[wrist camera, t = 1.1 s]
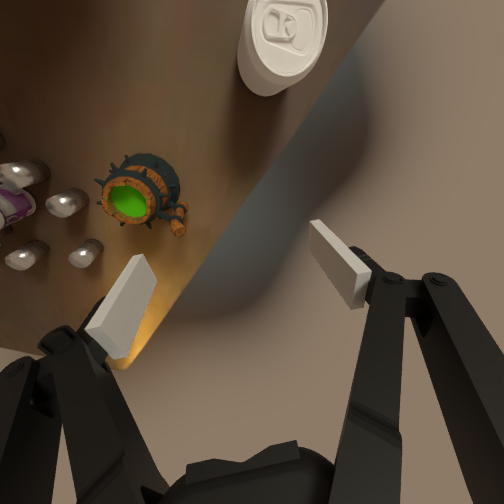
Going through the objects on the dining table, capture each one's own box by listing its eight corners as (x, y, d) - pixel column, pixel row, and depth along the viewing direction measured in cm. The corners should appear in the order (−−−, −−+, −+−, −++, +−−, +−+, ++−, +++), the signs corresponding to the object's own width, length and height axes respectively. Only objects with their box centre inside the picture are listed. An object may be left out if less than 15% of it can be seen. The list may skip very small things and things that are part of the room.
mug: (110, 192, 35) (67, 218, 25) (130, 136, 31) (89, 141, 21) (181, 228, 40) (168, 261, 30) (206, 184, 36) (201, 206, 27)
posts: (-125, 169, 29) (-183, 177, 25) (-88, 69, 25) (-151, 58, 21) (79, 275, 43) (64, 292, 38) (128, 223, 38) (116, 235, 34)
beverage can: (287, 101, 31) (318, 89, 21) (234, 91, 30) (241, 75, 20) (299, 26, 27) (346, -32, 17) (239, 11, 26) (251, -61, 16)
